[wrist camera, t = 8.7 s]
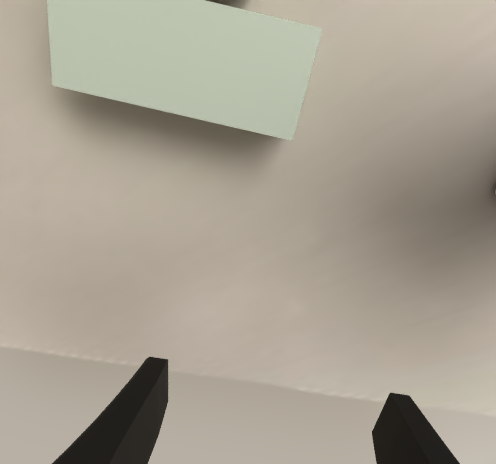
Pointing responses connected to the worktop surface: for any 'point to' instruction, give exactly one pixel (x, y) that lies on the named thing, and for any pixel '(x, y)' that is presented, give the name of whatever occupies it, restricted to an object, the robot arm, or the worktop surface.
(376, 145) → the worktop surface
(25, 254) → the worktop surface
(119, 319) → the worktop surface
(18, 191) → the worktop surface
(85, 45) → the pale green rectangular block
